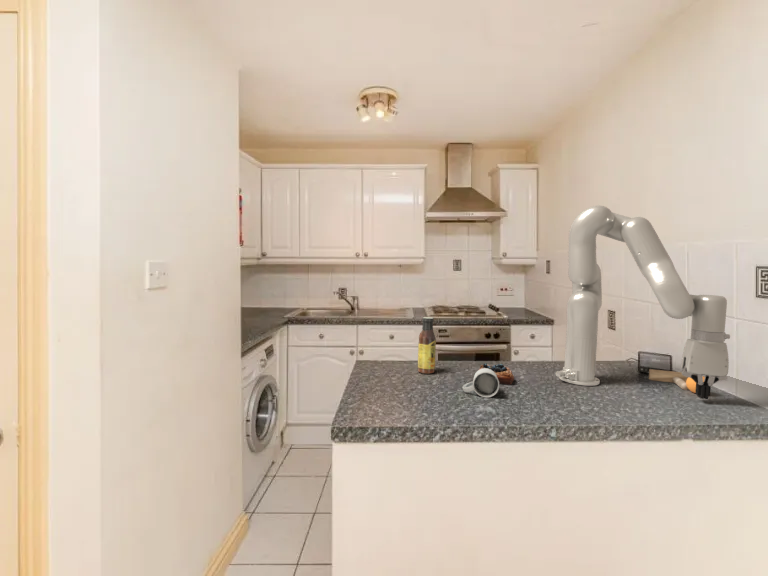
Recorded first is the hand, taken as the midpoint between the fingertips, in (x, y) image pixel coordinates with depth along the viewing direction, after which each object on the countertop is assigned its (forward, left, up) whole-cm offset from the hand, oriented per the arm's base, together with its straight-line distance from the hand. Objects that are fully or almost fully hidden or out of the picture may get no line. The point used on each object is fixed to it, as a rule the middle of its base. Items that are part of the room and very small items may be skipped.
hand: (702, 397), depth 113 cm
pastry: (-43, +41, -2) cm, 59 cm away
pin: (+9, +9, 0) cm, 12 cm away
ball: (+9, +5, +2) cm, 10 cm away
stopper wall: (+16, +16, -2) cm, 22 cm away
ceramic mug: (-58, +31, -2) cm, 66 cm away
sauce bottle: (-61, +57, -2) cm, 83 cm away
